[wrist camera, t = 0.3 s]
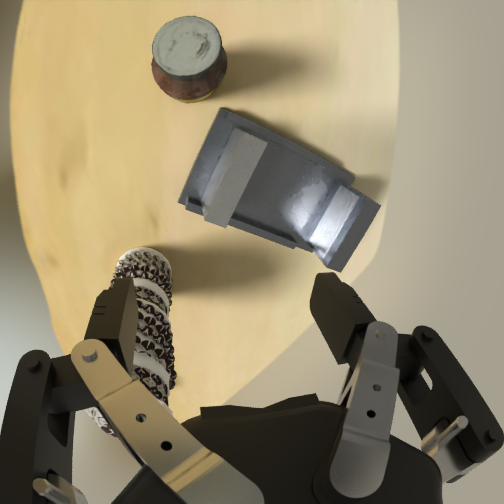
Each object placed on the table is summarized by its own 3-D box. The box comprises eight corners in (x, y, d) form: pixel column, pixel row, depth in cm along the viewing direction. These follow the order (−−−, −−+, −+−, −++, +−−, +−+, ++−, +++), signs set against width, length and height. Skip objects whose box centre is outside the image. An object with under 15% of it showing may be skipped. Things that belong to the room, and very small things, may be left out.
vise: (220, 107, 33) (230, 109, 25) (351, 175, 41) (386, 195, 33) (178, 200, 38) (176, 228, 30) (309, 249, 46) (334, 281, 38)
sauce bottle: (227, 82, 32) (271, 61, 15) (186, 113, 33) (185, 124, 16) (194, 43, 28) (204, -16, 11) (152, 75, 29) (115, 47, 12)
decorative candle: (153, 232, 39) (131, 387, 18) (186, 282, 44) (200, 436, 22) (102, 261, 39) (54, 411, 18) (137, 306, 44) (124, 454, 23)
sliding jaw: (234, 127, 34) (245, 132, 28) (253, 135, 35) (268, 143, 29) (200, 199, 37) (204, 220, 31) (219, 206, 38) (226, 228, 32)
